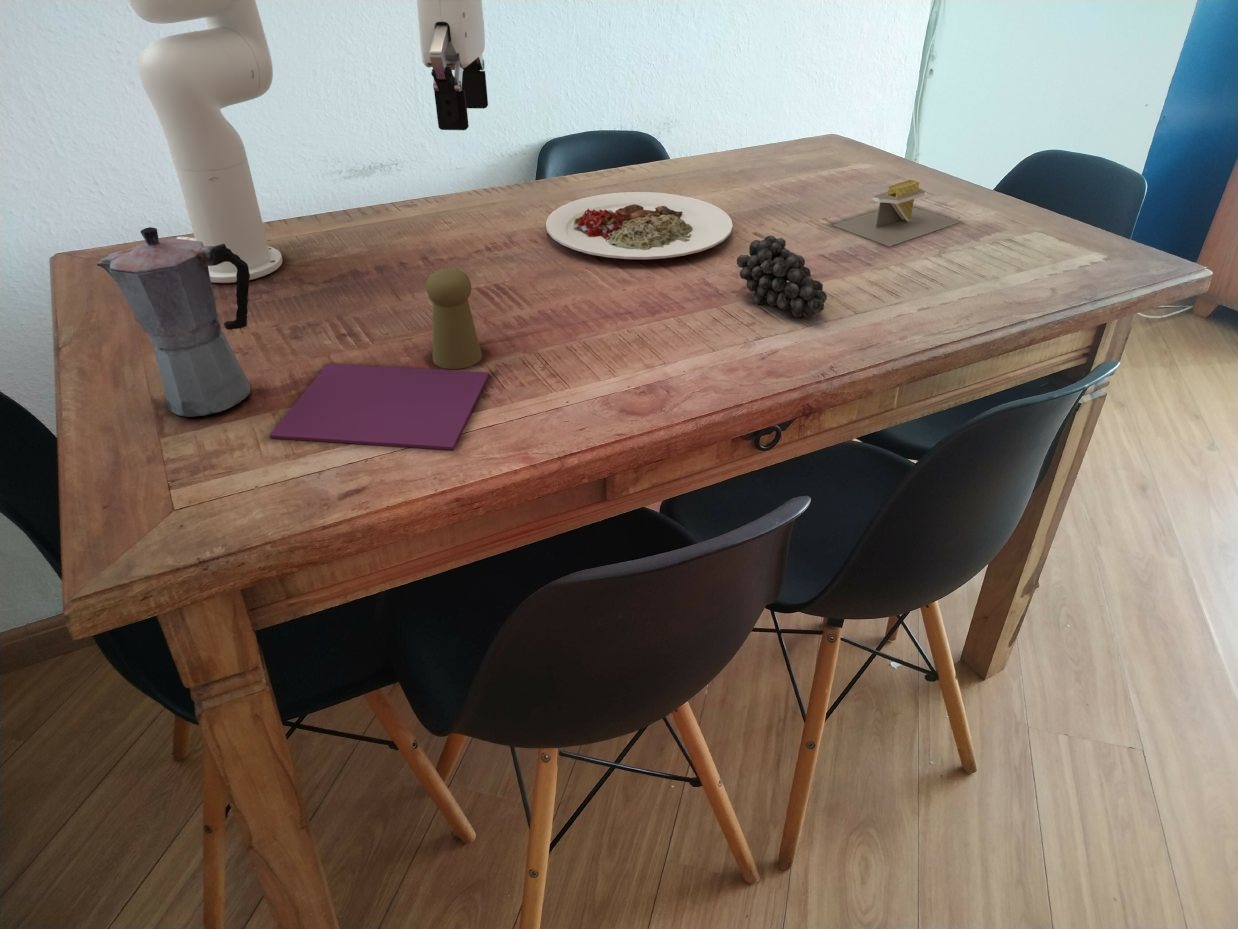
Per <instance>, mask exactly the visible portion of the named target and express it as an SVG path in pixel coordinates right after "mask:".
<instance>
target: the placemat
mask: <svg viewBox="0 0 1238 929" xmlns="http://www.w3.org/2000/svg"><path fill="white" fill-rule="evenodd" d="M489 377H490V372H485V371H484V372H483V371H469V370H468V371H466V370H451V369H434V368H433V369H430V368H413V367H395V366H379V365H378V366H376V365H361V364H360V365H358V364H341V363H326V364H325V366H324V367H323V368H322V369H321V371H320V372H319V373H318V374H317V376H316V377H315V378H314V379H313V381H311V383H310V384H309V385H308V387H307V388H306V389H305V390H304V391H303V393H302V394H301V396H299V398H298V399H297V400H296V402H294V404H293V405H292V406H291V408H290V409H289V410H288V411H287V412H286V414H285V415H284V416H283V418H282V419H281V420H280V422H278V424H277V425H276V426H275V428H274V429H273V430H272V431H271V433H270V434H269V438H270V439H278V440H294V441H306V442H307V441H309V442H323V443H339V444H355V445H356V444H357V445H369V446H387V447H400V448H401V447H402V448H418V449H433V450H446V451H454V449H455V447H456V445H457V444H458V441H459V439H460V437H461V436H462V433H463V431H464V429H465V426H466V424H467V422H468V421H469V418H470V416H471V414H472V412H473V410H474V408H475V406H476V404H477V402H478V400H479V398H480V396H481V393H482V392H483V390H484V388H485V385H486V384H487V381H488V379H489Z"/></svg>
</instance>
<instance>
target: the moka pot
mask: <svg viewBox="0 0 1238 929" xmlns="http://www.w3.org/2000/svg"><path fill="white" fill-rule="evenodd" d="M140 234H141V235H142V237H143V239H144V241H145V242H144V243H140V244H137V245H135V246H133V247H130V248H127V249H125V250H117V251H115V252H112V253H108V254H106V256H104V257H103V258H101V259H100V260H99V261H97V263H96V266H97V267H100V268H102V269H104V270H105V271H106V273H107V274H109V276H110V277H111V278H112V279H113V281H115V282H116V284H117V285H118V288H119V289H120V291H121V293H122V295H123V296H124V299H125V300H126V302H127V304H128V306H129V308H130V309H131V311H132V313H133V315H134V317H135V319H136V320H137V322H138V324H139V326H140V327H141V329H142V331H143V332H144V333H146V334H148V335H147V336H148V338H149V340H150V343H151V345H153V346H154V353H155V359H156V363H157V366H158V370H159V375H160V378H161V384H162V386H163V390H164V391H163V392H164V395H165V399H166V400H165V401H166V404H167V407H168V410H169V411H171V412H172V413H173V414H175V415H177V416H180V417H185V418H194V417H205V416H210V415H214V414H218V413H221V412H223V411H226V410H229V409H231V408H233V407H235V406H236V405H238V404H240V403H241V402H242V401H243V400H245V399H246V398H247V397H248V396H250V394H251V385H250V382H249V380H248V378H247V376H246V374H245V372H244V370H243V368H242V366H241V364H240V362H239V360H238V359H237V356H236V354H235V352H234V350H233V348H232V347H231V344H230V342H229V341H228V339H227V336H226V335H225V332H224V331H223V329H222V326H221V323H220V319H219V317H218V311H217V310H218V309H217V303H216V299H215V294H214V289H213V285H212V282H211V279H210V274H209V269H208V266H215V265H218V264H220V263H222V262H231V263H232V264H233V265H235V267H236V268H237V274H236V277H237V281H236V282H235V283H236V290H235V291H236V293H235V297H236V306H237V308H236V313H235V320H225V322H223V326H224V329H225V330H227V331H232V330H238V329H242V328H243V329H244V328H245V327H248V312H249V309H248V304H249V289H250V288H249V287H250V280H249V278H250V274H249V269H248V265H247V263H246V262H245V261H243V260H241V259H240V257H239V256H238V255H236V254H234V253H233V252H231V250H230V249H228V248H226V245H225V244H221V245H217V246H214V247H213V246H203V243H202V242H201V241H193V240H184V239H177V238H170V239H164V240H163V239H162V240H160V239H159V234H158V228H156V227H153V226H152V227H151V226H149V227H145V228H143V229H141V230H140Z"/></svg>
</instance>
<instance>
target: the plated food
mask: <svg viewBox="0 0 1238 929" xmlns="http://www.w3.org/2000/svg"><path fill="white" fill-rule="evenodd" d="M732 220H733V219H732V218H731V217H730V215H729V214H728V213H727V212H726V211H724V210H723V209H722V208H720V207H719V206H716V205H714V204H712V203H710V202H707V201H705V200H704V201H703V200H701V199H698V198H694V197H689V196H685V195H680V194H673V193H667V192H666V193H665V192H654V191H653V192H652V191H625V192H612V193H602V194H597V195H592V196H591V195H590V196H587V197H583V198H579V199H576V200H572V201H570V202H567V203H565V204H563V205H561V206H559V207H558V208H556V209H554V210H553V211H552V212H551V213H550V214H549V215H548V216H547V218H546V222H545V227H546V228H545V229H546V232H547V233H548V235H549V236H550V237H551V238H552V240H554V241H556V242H557V243H559V244H560V245H561V246H564V247H567V248H569V249H570V250H574V251H577V252H581V253H584V254H586V255H587V254H588V255H592V256H599V257H604V258H610V259H611V258H612V259H622V260H642V261H643V260H645V261H646V260H660V259H668V258H669V259H671V258H676V257H683V256H687V255H693V254H696V253H700V252H704V251H706V250H708V249H711V248H714V247H716V246H718V245H719V244H721V243H723V242H724V241H725V240H726V239H727V238H728V237H729V236H730V235H731V233H732V231H733V221H732Z"/></svg>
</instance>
